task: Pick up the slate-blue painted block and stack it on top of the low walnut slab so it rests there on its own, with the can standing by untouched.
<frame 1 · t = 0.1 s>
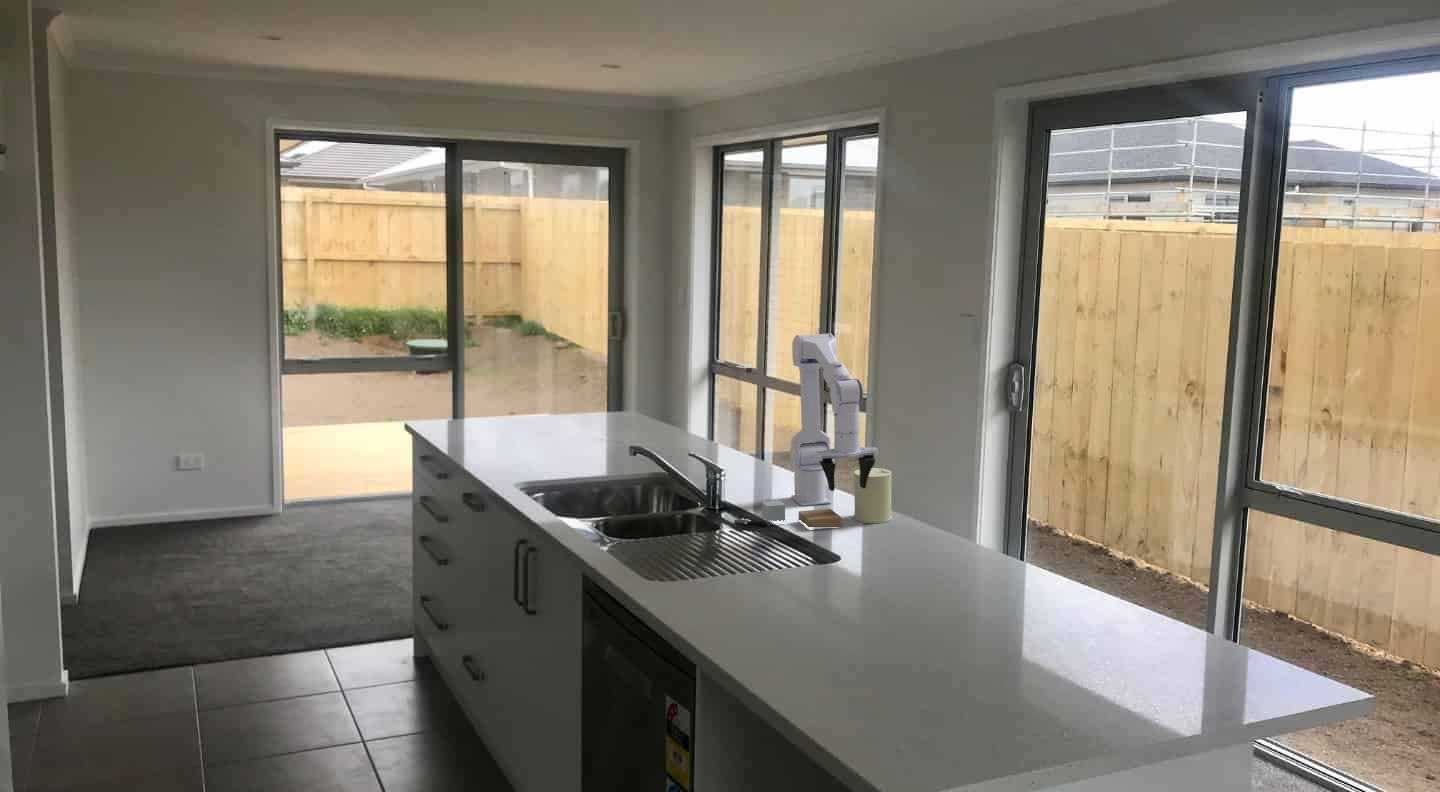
hand: (847, 488, 266), 10 cm above the counter, fingers open, 7 cm apart
block: (773, 523, 275), on the counter
can: (873, 519, 277), on the counter
slab: (819, 526, 273), on the counter
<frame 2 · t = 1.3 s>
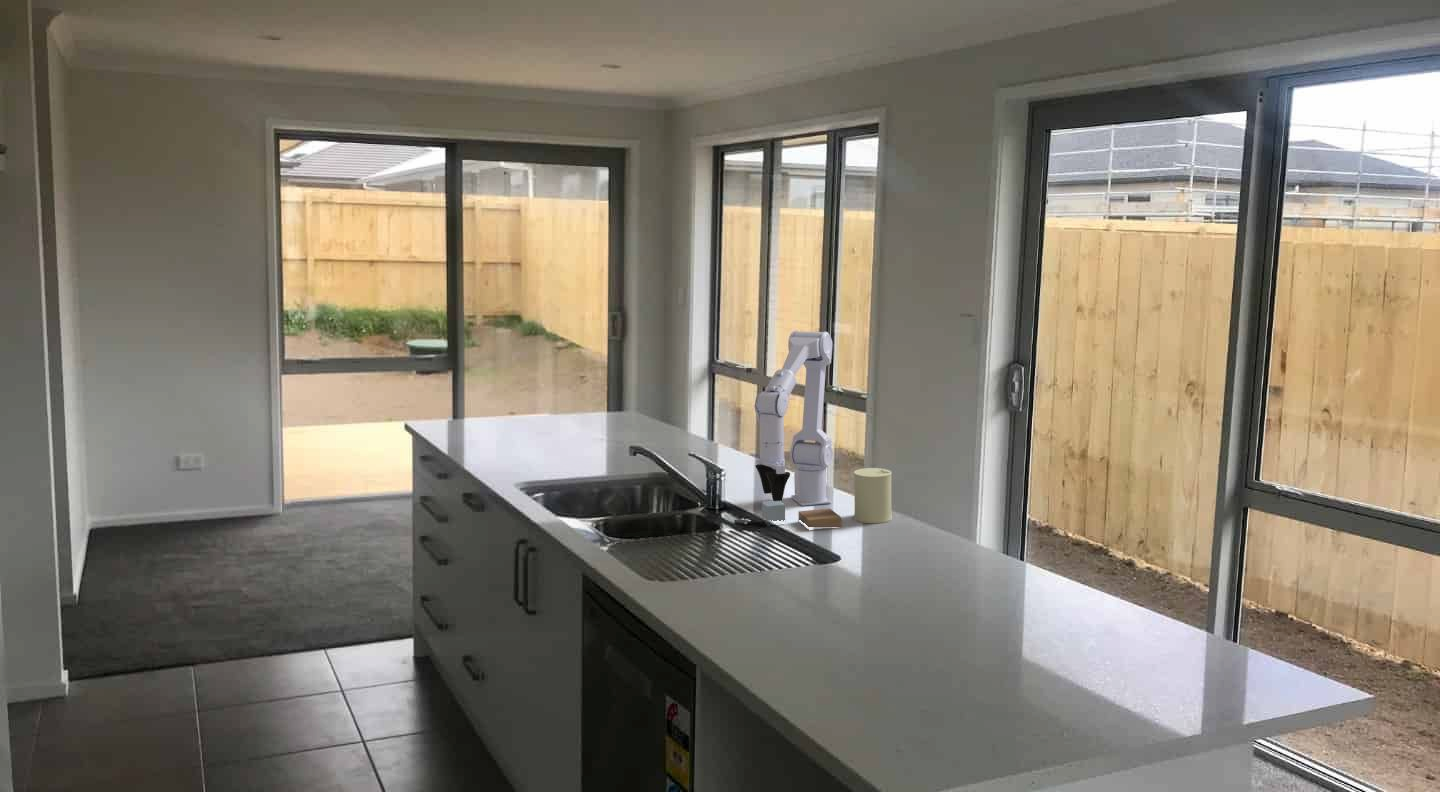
hand: (772, 496, 274), 7 cm above the counter, fingers open, 7 cm apart
nothing on the counter moved.
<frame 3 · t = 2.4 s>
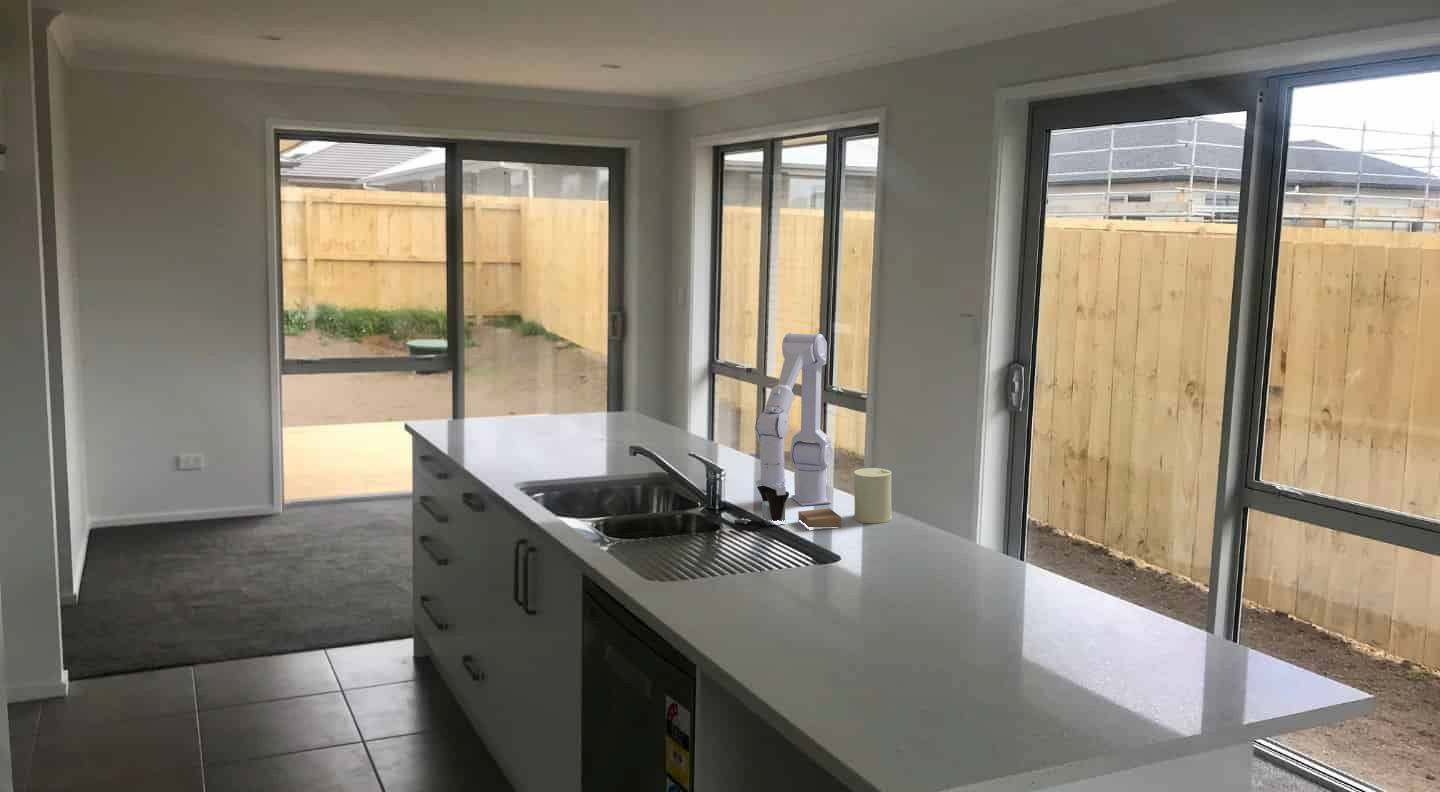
hand: (773, 517, 275), 1 cm above the counter, fingers closed on block, 4 cm apart
block: (773, 523, 275), on the counter, touching gripper
everything else where it was.
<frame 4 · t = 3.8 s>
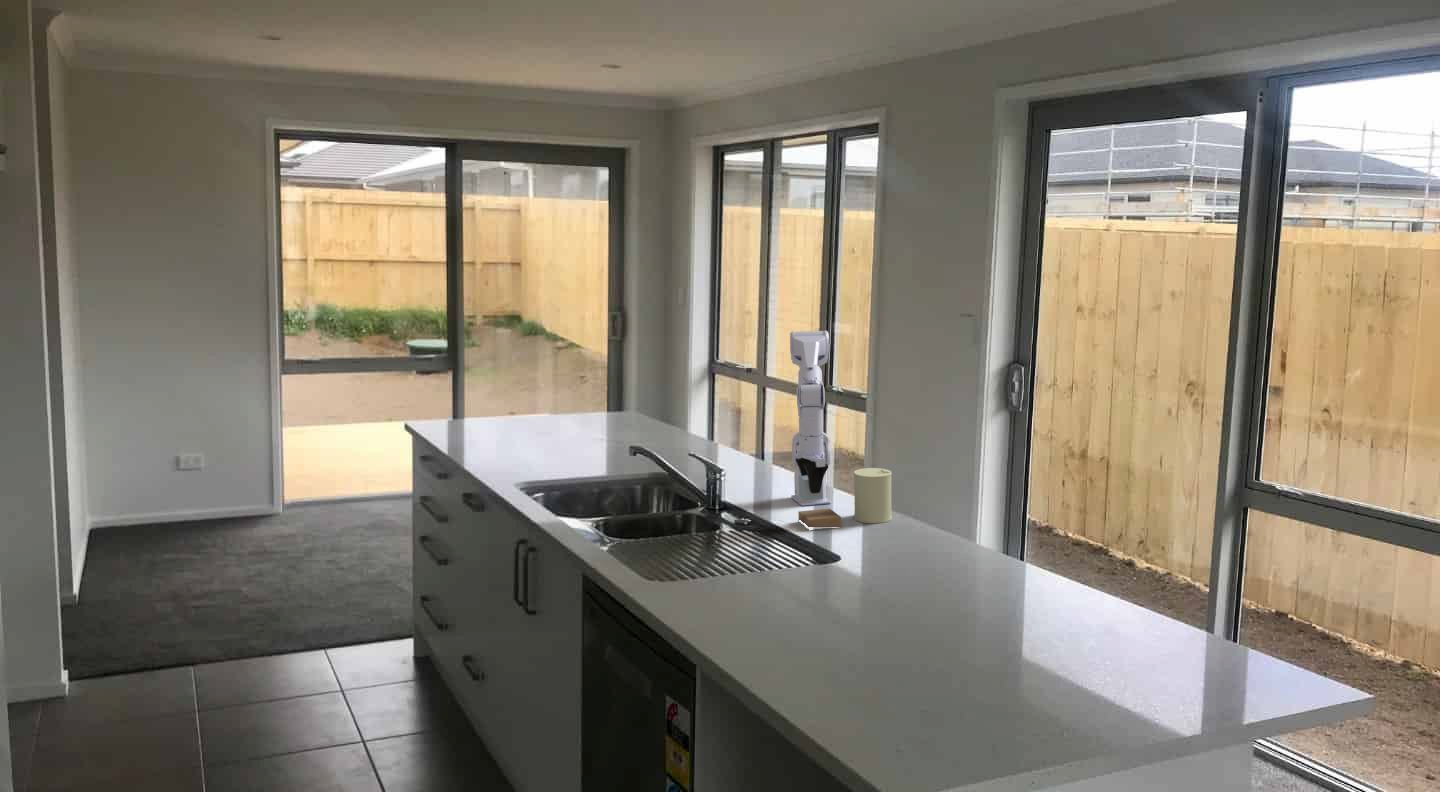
hand: (812, 490, 272), 8 cm above the counter, fingers closed on block, 4 cm apart
block: (811, 497, 272), point 7 cm above the counter, touching gripper
everything else where it was.
when the fingers open (5 cm above the counter, at t = 5.1 s): block stays where it is, point 3 cm above the counter.
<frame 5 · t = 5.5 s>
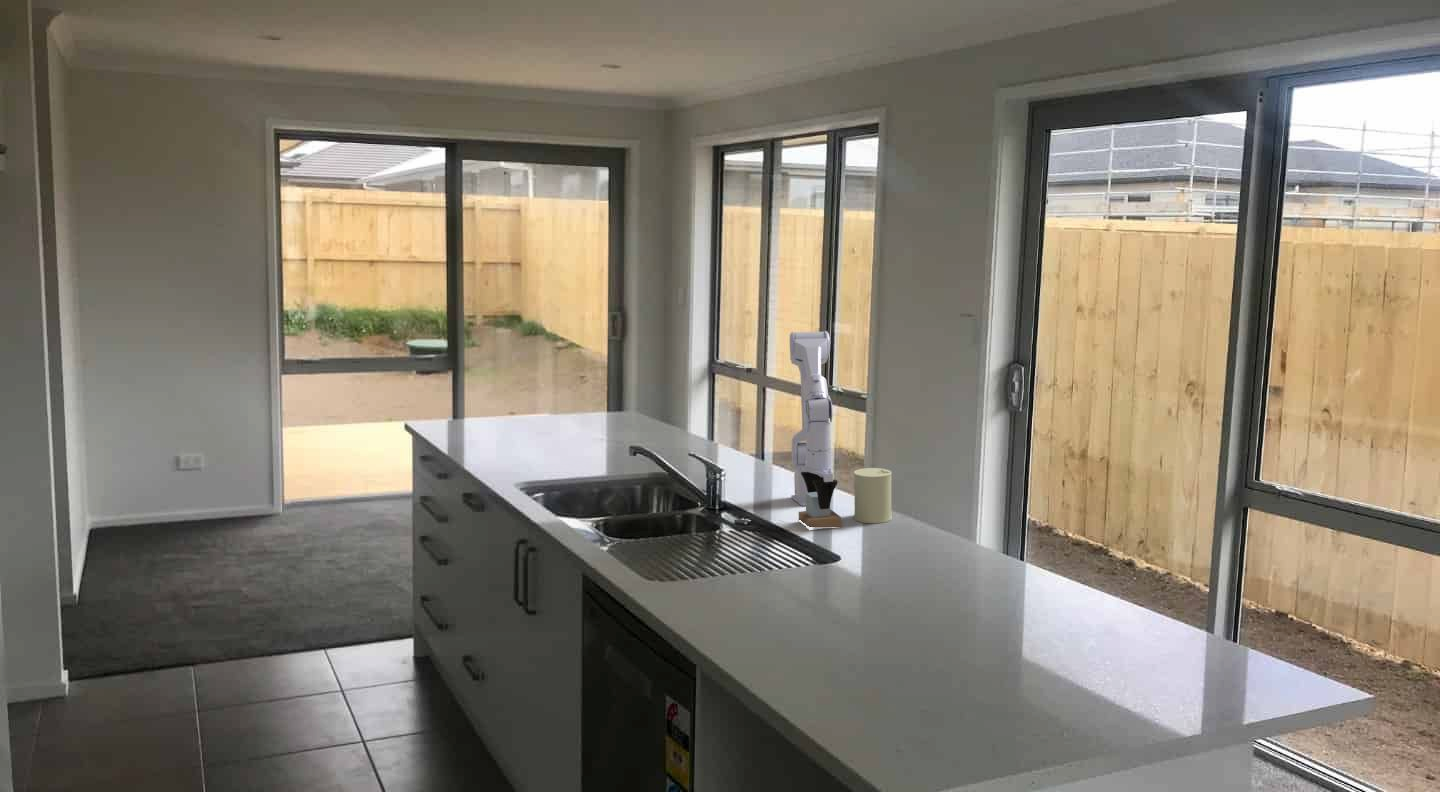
hand: (819, 504, 272), 5 cm above the counter, fingers open, 7 cm apart
block: (818, 514, 272), point 3 cm above the counter
everything else where it was.
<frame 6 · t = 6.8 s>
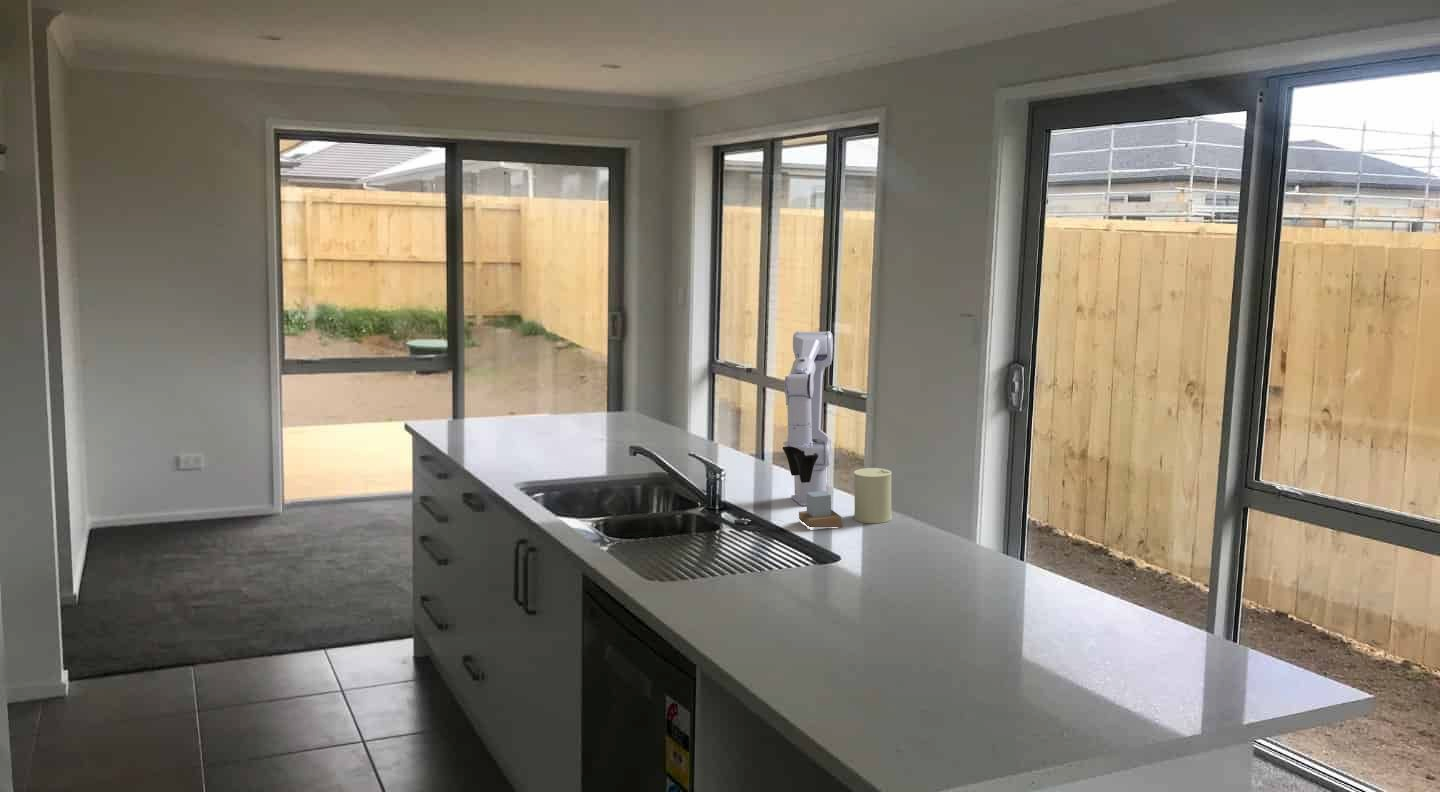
hand: (800, 478, 275), 10 cm above the counter, fingers open, 7 cm apart
block: (818, 514, 272), point 3 cm above the counter, touching slab
slab: (820, 526, 273), on the counter, touching block
everything else where it was.
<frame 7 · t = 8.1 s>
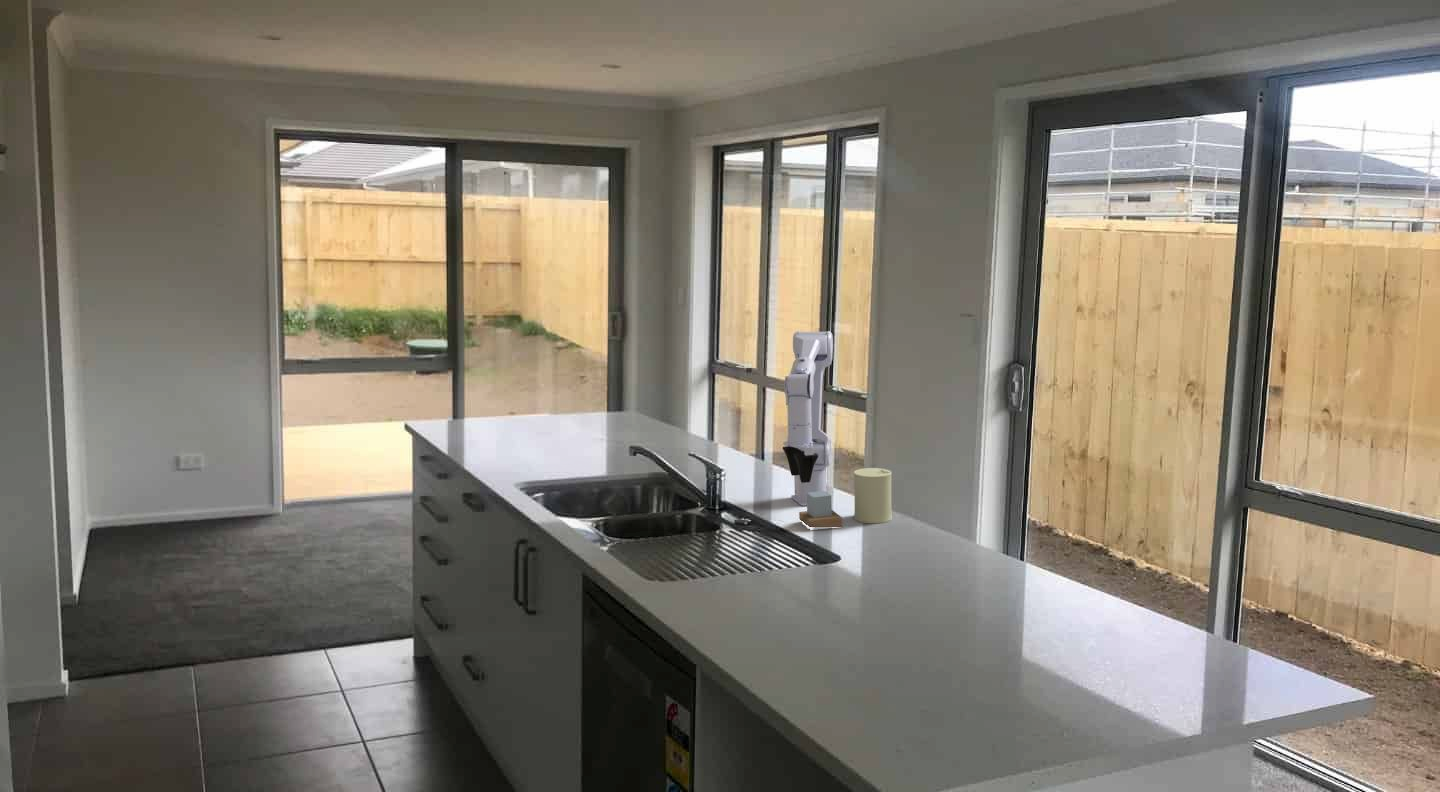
hand: (800, 478, 275), 10 cm above the counter, fingers open, 7 cm apart
block: (819, 514, 272), point 3 cm above the counter
slab: (820, 526, 273), on the counter
everything else where it was.
at the end: block 0.3 cm off-centre on the slab, point 3.0 cm above the slab's base; block tilted 0°; the gripper is holding nothing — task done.
